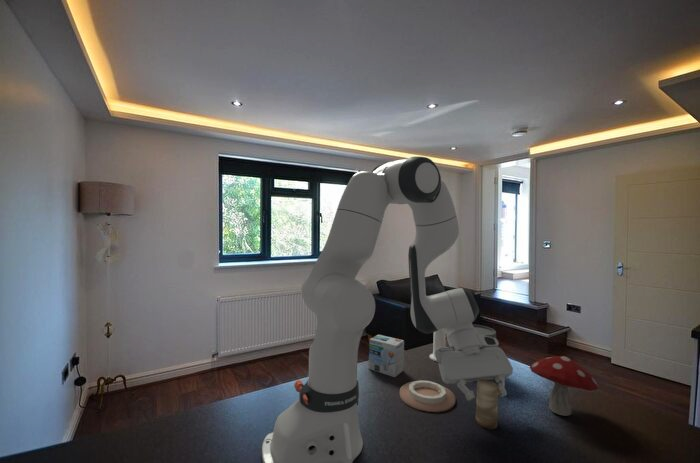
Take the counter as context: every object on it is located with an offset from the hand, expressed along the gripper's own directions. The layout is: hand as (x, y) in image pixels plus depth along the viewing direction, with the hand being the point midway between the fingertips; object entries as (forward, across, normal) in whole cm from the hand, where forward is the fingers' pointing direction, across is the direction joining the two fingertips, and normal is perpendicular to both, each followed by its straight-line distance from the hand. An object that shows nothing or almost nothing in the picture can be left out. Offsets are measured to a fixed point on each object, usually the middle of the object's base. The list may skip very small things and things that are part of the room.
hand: (487, 397), depth 82 cm
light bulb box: (-20, -15, +29) cm, 38 cm away
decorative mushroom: (+4, +24, +5) cm, 25 cm away
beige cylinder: (+5, 0, +5) cm, 7 cm away
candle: (-23, +9, +33) cm, 41 cm away
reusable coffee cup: (-14, +15, +24) cm, 31 cm away
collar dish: (-6, -9, +15) cm, 19 cm away
